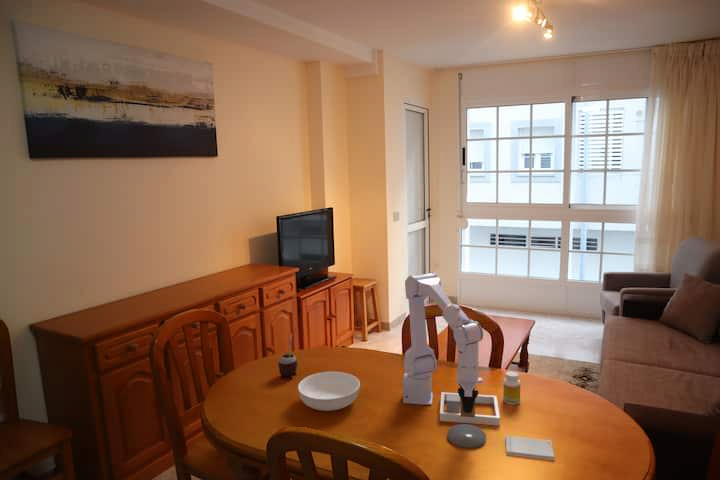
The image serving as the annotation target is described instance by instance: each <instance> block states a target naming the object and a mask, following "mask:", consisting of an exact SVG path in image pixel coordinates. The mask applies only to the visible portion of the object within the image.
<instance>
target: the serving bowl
mask: <svg viewBox="0 0 720 480" xmlns="http://www.w3.org/2000/svg"><path fill="white" fill-rule="evenodd" d="M360 389H361V382H360V380H359V379H358V377H356V376H354V375H353V374H350V373H347V372H341V371H324V372H317V373H313V374H311V375H308V376H306V377H305V378H303V379H302V380H301V381H299V383H298V386H297V390H298V391H297V392H298V395H299V397H300V399H301V401H302V402H303V403H304V404H305V406H307V407H309V408H311V409H313V410H317V411H324V412H328V411H329V412H330V411H337V410H341V409H343V408H347V407H348V406H349V405H352V403H353V402H354V401H355V400H356V399H357V397H358V395H359V393H360Z"/></svg>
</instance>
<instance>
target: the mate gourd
mask: <svg viewBox="0 0 720 480" xmlns="http://www.w3.org/2000/svg"><path fill="white" fill-rule="evenodd" d="M292 337H293V333H290V336H289V343H288V344H289V345H288V347H289V348H288V353H285V354H282V355H281V356H280V357H279V359H278V370H279V371H278V372H279V374H280V379H285V378H286V379H287V378H288V379H290V380H293V379H294V378H293V376H296V375H297V368H298V360H297V356H295V355H294V354H292V353H291V352H292Z"/></svg>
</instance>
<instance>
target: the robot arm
mask: <svg viewBox="0 0 720 480" xmlns="http://www.w3.org/2000/svg"><path fill="white" fill-rule="evenodd" d="M404 287H405V288H404V291H405V298H406V299H407V300H408V310H409V311H408V312H409V313H408V314H409V323H410V324H409V325H410V338H411V346H410V347H409V348H408V349H407V350H406V351H405V353H404V361H403V368H404V370H405V372H404V373H403V378H402V379H403V380H402V385H403V386H402V395H403V396H402V397H403V399H402V401H403V402H402V403H403V404H413V405H426V406H431V405H432V404H433V398H434V393H433V392H432V375H434V372H435V371H436V369H437V364H438V363H437V359H436V357H435V350H434V349H432V348H431V347H429V346H428V338H427V336H428V335H427V323H426V320H427V319H426V309H425V306H426V305H425V300H426V299H427V298H428V297H429V298H430V299H431V300H432V301H433V302H434V303H435V304H436V305H437V306H438V307H439V308H440V310H441V311H442V318H443V319H444V320H445V322H446V323H447V324H448V326H449V327H450V328H451V330H452V331H453V332H452V333H453V339H454V341H455V347H456V350H457V377H456V382H457V384H458V386H459V387H458V388H457V393H458V394H459V396H460V398H461V400H462V405H463V410H464V413H472V409H473V405H474V401H475V399H476V397H477V396H478V395H479V390H477V389H476V387H477V386H478V384H482V383H483V378H482V377H479V345H480V344H479V342H481V341H482V340H483V338H484V332H483V328H482V326H481V324H480V323H479V322H478V321H476V320H473V319H470V317H469V316H467V314H466V313H465V312H464V311H463V309H462V308H461V307H460V305H458V304H454V303H453V302H452V301H451V300H450V299H449V297H448V295H447V294H446V293H445V290H444V289H443V288H442V282H441V278H440V277H439V276H438V274H437V273H436V272H434V271H433V272H430V273H429V272H426V273H421V274H415V275H413V274H412V275H409V276H407V278H406V279H405V280H404Z"/></svg>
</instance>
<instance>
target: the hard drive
mask: <svg viewBox="0 0 720 480" xmlns="http://www.w3.org/2000/svg"><path fill="white" fill-rule="evenodd" d="M552 443H553V442H552V440H548V439H538V438H530V437H521V436H512V435H505V452H506V454H505V455H506V456H515V457H522V458H531V459H539V460H547V461H555V460H556V459H555V453H554V447H553V444H552Z"/></svg>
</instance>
